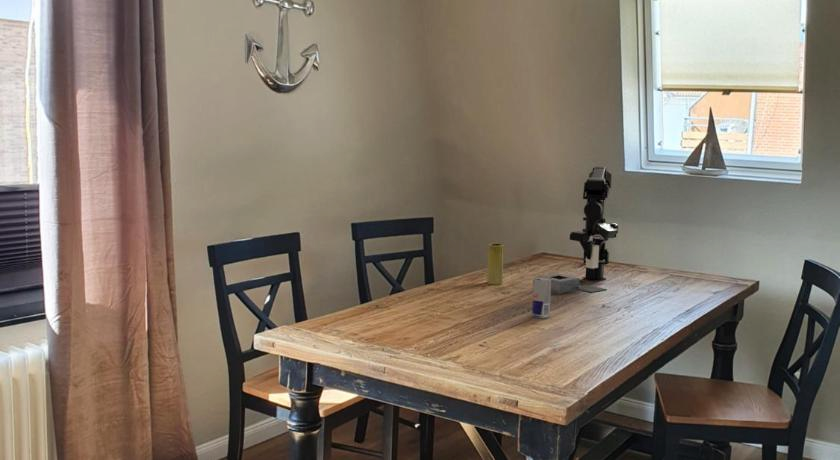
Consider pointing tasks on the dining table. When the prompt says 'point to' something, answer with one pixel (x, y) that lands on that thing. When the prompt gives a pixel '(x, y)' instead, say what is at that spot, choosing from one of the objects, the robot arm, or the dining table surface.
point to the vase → (495, 264)
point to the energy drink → (541, 297)
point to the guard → (563, 283)
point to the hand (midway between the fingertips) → (592, 258)
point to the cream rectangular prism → (593, 257)
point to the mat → (591, 289)
